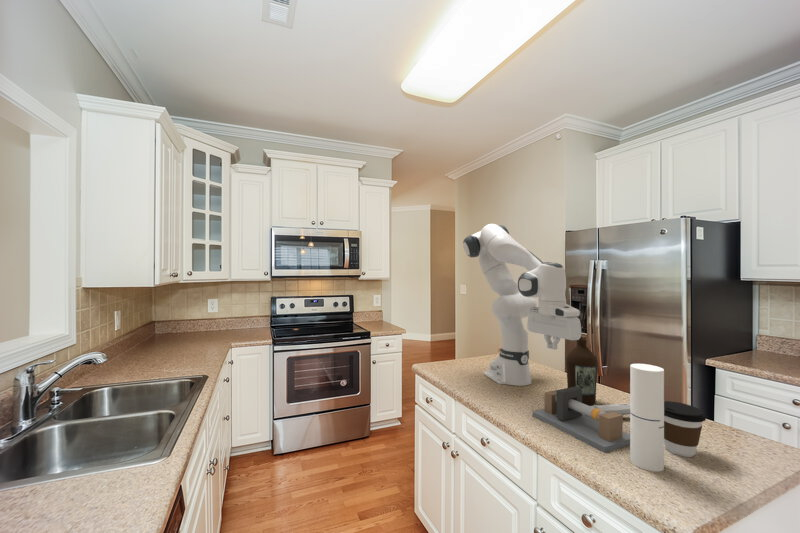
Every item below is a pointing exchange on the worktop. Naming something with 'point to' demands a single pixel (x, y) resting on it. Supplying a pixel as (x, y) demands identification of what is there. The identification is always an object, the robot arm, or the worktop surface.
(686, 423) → the coffee cup
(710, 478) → the worktop surface
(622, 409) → the electric toothbrush
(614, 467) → the worktop surface
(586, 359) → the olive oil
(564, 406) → the collar
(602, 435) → the pipe stand
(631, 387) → the cylindrical container
